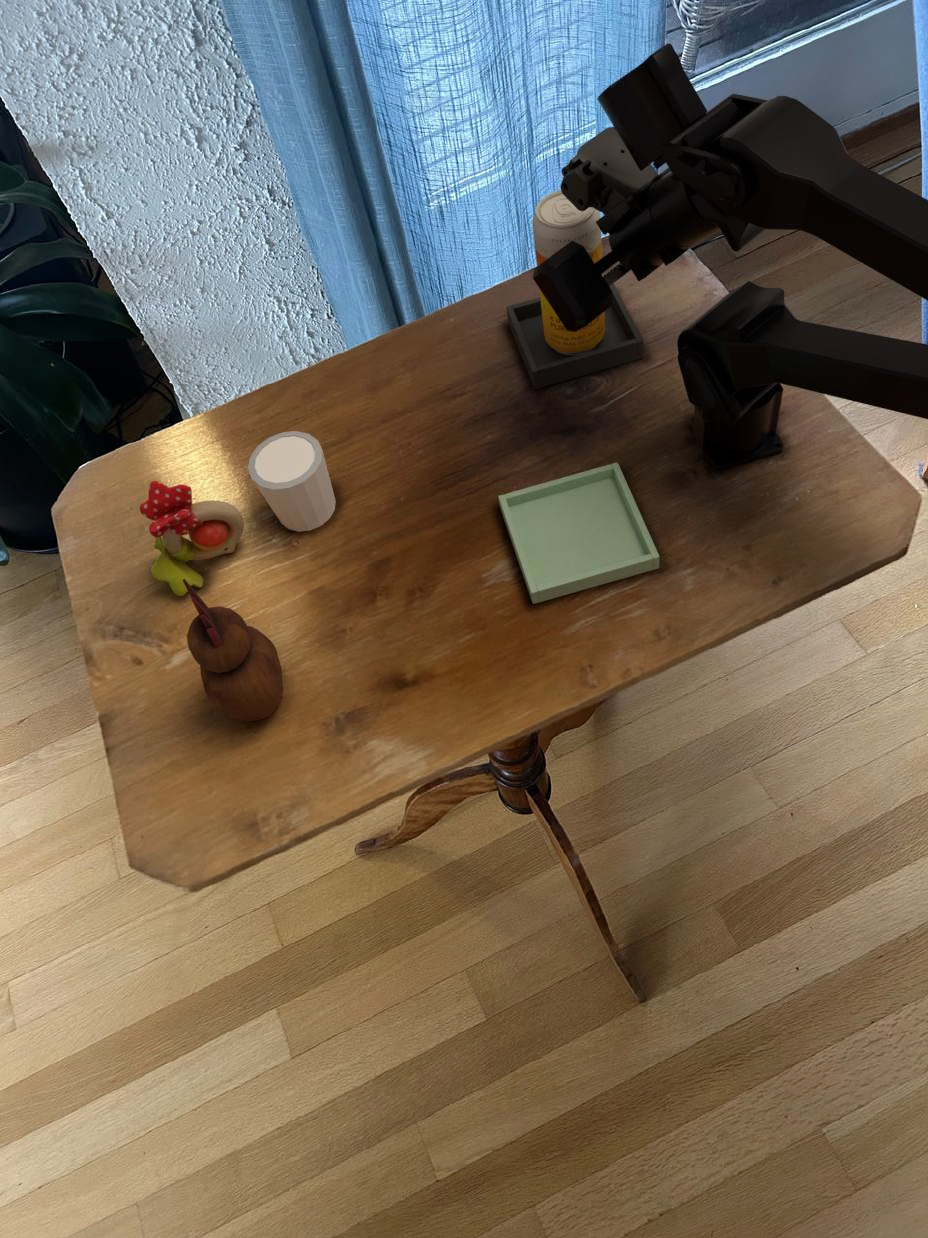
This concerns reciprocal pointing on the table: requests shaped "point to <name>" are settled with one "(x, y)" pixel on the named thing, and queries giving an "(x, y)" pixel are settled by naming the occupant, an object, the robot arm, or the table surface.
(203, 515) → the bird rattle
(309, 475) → the white cup
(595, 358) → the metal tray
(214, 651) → the wooden figurine
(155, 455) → the table surface
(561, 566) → the sage tray
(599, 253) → the beer can
